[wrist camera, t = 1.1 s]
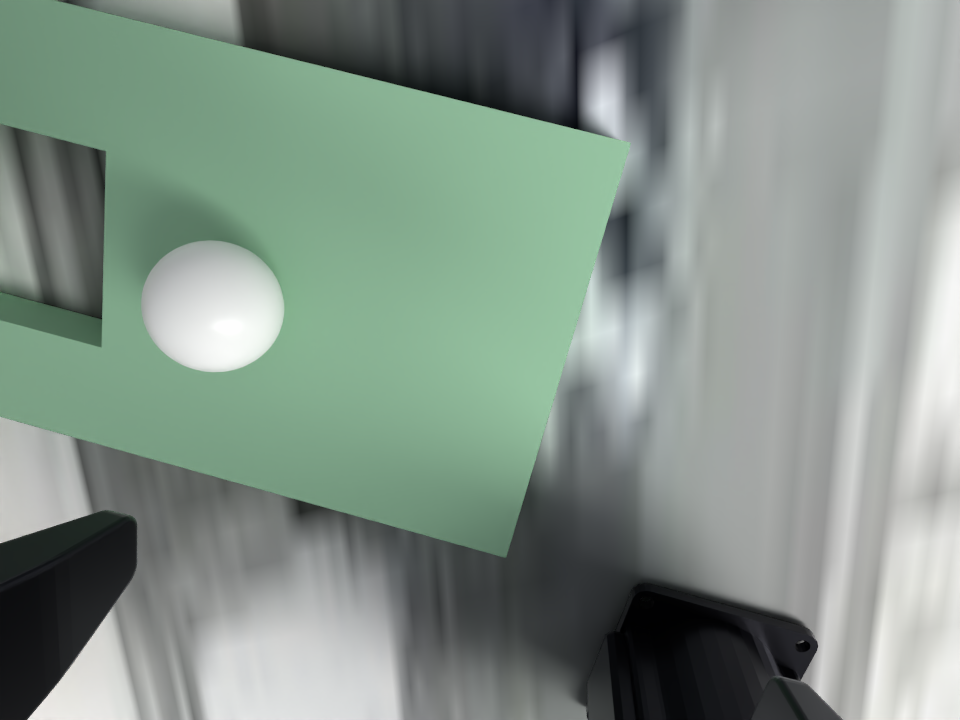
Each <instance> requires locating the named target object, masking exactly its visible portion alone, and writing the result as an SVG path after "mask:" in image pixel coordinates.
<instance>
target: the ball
mask: <svg viewBox="0 0 960 720" xmlns="http://www.w3.org/2000/svg"><path fill="white" fill-rule="evenodd" d="M141 311H142V317H143V321H144V324H145V327H146V329H147V332H148V333H149V335H150V337H151V339H152V340H153V342H154V343H155V344H156V345H157V347H158V348H159V349H160V350H161V351H162V352H163V353H164V354H166V355H167V356H168V357H170V358H171V359H173V360H174V361H176V362H178V363H179V364H181V365H183V366H186V367H188V368H191V369H195V370H199V371H204V372H226V371H231V370H235V369H239V368H242V367H244V366H246V365H248V364H250V363H252V362H254V361H256V360H257V359H258V358H260V357H261V356H262V355H263V354H264V353H265V352H266V351H267V350H268V349H269V348H270V347H271V346H272V344H273V343H274V341H275V340H276V338H277V336H278V334H279V332H280V330H281V327H282V323H283V318H284V299H283V294H282V290H281V287H280V285H279V282H278V280H277V278H276V277H275V275H274V273H273V272H272V271H271V269H270V268H269V267H268V266H267V265H266V264H265V263H264V262H263V261H262V260H261V259H260V258H259V257H258V256H257V255H255V254H254V253H252V252H251V251H249V250H247V249H245V248H243V247H241V246H238V245H235V244H232V243H229V242H223V241H214V240H206V241H197V242H192V243H188V244H186V245H183V246H181V247H178V248H176V249H174V250H173V251H171V252H169V253H168V254H166V255H165V256H164V257H163V258H162V259H160V260H159V262H158V263H157V264H156V265H155V266H154V267H153V269H152V270H151V272H150V273H149V275H148V277H147V279H146V282H145V284H144V287H143V291H142V298H141Z"/></svg>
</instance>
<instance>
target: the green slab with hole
mask: <svg viewBox="0 0 960 720" xmlns="http://www.w3.org/2000/svg"><path fill="white" fill-rule="evenodd" d="M0 124H3V125H6V126H10V127H14V128H18V129H22V130H26V131H30V132H34V133H38V134H41V135H45V136H49V137H53V138H57V139H61V140H65V141H69V142H72V143H76V144H80V145H84V146H88V147H92V148H96V149H100V150H103V151H106V170H105V215H104V260H103V305H102V319H98V318H94V317H91V316H87V315H83V314H80V313H76V312H72V311H68V310H65V309H61V308H57V307H54V306H50V305H46V304H43V303H39V302H35V301H31V300H28V299H24V298H20V297H17V296H13V295H9V294H6V293H2V292H0V417H3V418H7V419H10V420H14V421H17V422H21V423H25V424H28V425H32V426H35V427H39V428H42V429H46V430H50V431H53V432H57V433H60V434H64V435H67V436H71V437H75V438H78V439H82V440H85V441H89V442H93V443H96V444H100V445H103V446H107V447H110V448H114V449H118V450H121V451H125V452H128V453H132V454H135V455H139V456H143V457H146V458H150V459H153V460H157V461H161V462H164V463H168V464H171V465H175V466H178V467H182V468H186V469H189V470H193V471H196V472H200V473H203V474H207V475H211V476H214V477H218V478H221V479H225V480H229V481H232V482H236V483H239V484H243V485H246V486H250V487H254V488H257V489H261V490H264V491H268V492H271V493H275V494H279V495H282V496H286V497H289V498H293V499H297V500H300V501H304V502H307V503H311V504H314V505H318V506H322V507H325V508H329V509H332V510H336V511H339V512H343V513H347V514H350V515H354V516H357V517H361V518H365V519H368V520H372V521H375V522H379V523H382V524H386V525H390V526H393V527H397V528H400V529H404V530H407V531H411V532H415V533H418V534H422V535H425V536H429V537H433V538H436V539H440V540H443V541H447V542H450V543H454V544H458V545H461V546H465V547H468V548H472V549H475V550H479V551H483V552H486V553H490V554H493V555H497V556H501V557H504V558H506V556H507V553H508V550H509V546H510V543H511V540H512V536H513V533H514V530H515V526H516V523H517V520H518V517H519V513H520V510H521V507H522V503H523V500H524V497H525V493H526V490H527V487H528V483H529V480H530V477H531V473H532V470H533V467H534V463H535V460H536V457H537V453H538V450H539V447H540V443H541V440H542V437H543V434H544V430H545V427H546V424H547V420H548V417H549V414H550V410H551V407H552V404H553V400H554V397H555V394H556V390H557V387H558V384H559V380H560V377H561V374H562V370H563V367H564V364H565V361H566V357H567V354H568V351H569V347H570V344H571V341H572V337H573V334H574V331H575V327H576V324H577V321H578V317H579V314H580V311H581V307H582V304H583V301H584V297H585V294H586V291H587V287H588V284H589V281H590V278H591V274H592V271H593V268H594V264H595V261H596V258H597V254H598V251H599V248H600V244H601V241H602V238H603V234H604V231H605V228H606V224H607V221H608V218H609V214H610V211H611V208H612V204H613V201H614V198H615V195H616V191H617V188H618V185H619V181H620V178H621V175H622V171H623V168H624V165H625V161H626V158H627V155H628V151H629V148H630V145H631V143H629V142H625V141H621V140H617V139H613V138H609V137H605V136H601V135H597V134H593V133H589V132H585V131H581V130H577V129H573V128H569V127H565V126H561V125H557V124H553V123H549V122H544V121H540V120H536V119H532V118H528V117H524V116H520V115H516V114H512V113H508V112H504V111H500V110H496V109H492V108H488V107H484V106H480V105H476V104H472V103H468V102H464V101H460V100H456V99H452V98H448V97H444V96H440V95H435V94H431V93H427V92H423V91H419V90H415V89H411V88H407V87H403V86H399V85H395V84H391V83H387V82H383V81H379V80H375V79H371V78H367V77H363V76H359V75H355V74H351V73H347V72H343V71H339V70H335V69H331V68H326V67H322V66H318V65H314V64H310V63H306V62H302V61H298V60H294V59H290V58H286V57H282V56H278V55H274V54H270V53H266V52H262V51H258V50H254V49H250V48H246V47H242V46H238V45H234V44H230V43H226V42H222V41H218V40H213V39H209V38H205V37H201V36H197V35H193V34H189V33H185V32H181V31H177V30H173V29H169V28H165V27H161V26H157V25H153V24H149V23H145V22H141V21H137V20H133V19H129V18H125V17H121V16H117V15H113V14H109V13H104V12H100V11H96V10H92V9H88V8H84V7H80V6H76V5H72V4H68V3H64V2H60V1H56V0H0ZM206 240H214V241H223V242H229V243H232V244H235V245H238V246H241V247H243V248H245V249H247V250H249V251H251V252H252V253H254V254H255V255H257V256H258V257H259V258H260V259H261V260H262V261H263V262H264V263H265V264H266V265H267V266H268V267H269V268H270V269H271V271H272V272H273V273H274V275H275V277H276V278H277V280H278V282H279V285H280V287H281V290H282V294H283V299H284V318H283V323H282V327H281V330H280V332H279V334H278V336H277V338H276V340H275V341H274V343H273V344H272V346H271V347H270V348H269V349H268V350H267V351H266V352H265V353H264V354H263V355H262V356H261V357H260V358H258V359H257V360H256V361H254V362H252V363H250V364H248V365H246V366H244V367H242V368H239V369H235V370H231V371H226V372H204V371H199V370H195V369H191V368H188V367H186V366H183V365H181V364H179V363H178V362H176V361H174V360H173V359H171V358H170V357H168V356H167V355H166V354H164V353H163V352H162V351H161V350H160V349H159V348H158V347H157V345H156V344H155V343H154V342H153V340H152V339H151V337H150V335H149V333H148V332H147V329H146V327H145V324H144V321H143V317H142V311H141V298H142V291H143V287H144V284H145V282H146V279H147V277H148V275H149V273H150V272H151V270H152V269H153V267H154V266H155V265H156V264H157V263H158V262H159V260H160V259H162V258H163V257H164V256H165V255H166V254H168V253H169V252H171V251H173V250H174V249H176V248H178V247H181V246H183V245H186V244H188V243H192V242H197V241H206Z"/></svg>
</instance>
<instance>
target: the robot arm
mask: <svg viewBox="0 0 960 720" xmlns="http://www.w3.org/2000/svg"><path fill="white" fill-rule="evenodd" d="M136 567H137V522H136V520H135V518H133V517H132V516H130V515H126V514H122V513H118V512H114V511H109V510H105V511H100V512H97V513H94V514H91V515H88V516H85V517H82V518H79V519H75V520H72V521H69V522H66V523H63V524H60V525H57V526H53V527H50V528H47V529H44V530H41V531H38V532H35V533H32V534H28V535H25V536H22V537H19V538H16V539H13V540H10V541H7V542H3V543H0V720H27V719H28V718H29V717H30V716H31V715H32V713H33V712H34V711H35V710H36V709H37V707H38V706H39V705H40V704H41V703H42V702H43V700H44V699H45V698H46V697H47V696H48V694H49V693H50V692H51V691H52V690H53V688H54V687H55V686H56V685H57V683H58V682H59V681H60V680H61V678H62V677H63V676H64V674H65V673H66V672H67V670H68V669H69V668H70V666H71V665H72V664H73V662H74V661H75V660H76V658H77V657H78V655H79V654H80V652H81V651H82V650H83V648H84V647H85V645H86V644H87V643H88V641H89V640H90V638H91V637H92V635H93V634H94V633H95V631H96V630H97V628H98V627H99V626H100V624H101V623H102V621H103V620H104V618H105V617H106V616H107V614H108V613H109V611H110V610H111V608H112V607H113V606H114V604H115V603H116V601H117V600H118V599H119V597H120V596H121V594H122V593H123V591H124V590H125V589H126V587H127V586H128V584H129V583H130V581H131V580H132V578H133V576H134V573H135V571H136ZM643 597H650V598H651V599H650V600H648V601H642V600H640V599H641V598H643ZM801 640H803V641H804V642H803V643H800V644H796V643H797V642H798V641H801ZM817 648H818V644H817V641H816V639H815V637H814V635H813V633H812V632H811V631H810V630H809V629H808V628H805V627H803V626H799V625H796V624H792V623H788V622H785V621H781V620H778V619H774V618H770V617H767V616H763V615H760V614H756V613H753V612H749V611H745V610H742V609H738V608H735V607H731V606H727V605H724V604H720V603H717V602H713V601H709V600H706V599H702V598H699V597H695V596H691V595H688V594H684V593H681V592H677V591H674V590H670V589H666V588H663V587H659V586H656V585H652V584H646V583H643V584H638V585H637V586H635V587H634V588H633V589H632V591H631V593H630V596H629V598H628V601H627V603H626V606H625V608H624V611H623V613H622V616H621V618H620V621H619V624H618V626H617V629H616V631H614V630H612V631H611V632H609V633H608V634H606V636H605V638H604V641H603V644H602V646H601V649H600V651H599V654H598V656H597V659H596V662H595V664H594V667H593V669H592V672H591V674H590V677H589V679H588V682H587V692H588V702H587V706H586V711H587V718H588V720H843V719H842V718H841V717H840V716H839V715H838V714H837V713H836V712H835V711H834V710H833V709H832V708H831V707H830V706H829V705H828V704H827V703H826V702H825V701H824V700H823V699H822V698H821V697H820V696H819V695H818V694H817V693H816V692H815V691H814V690H813V689H812V688H811V687H810V686H808V685H807V684H806V683H804V682H801V679H802V677H803V675H804V673H805V671H806V669H807V668H808V666H809V664H810V662H811V660H812V658H813V657H814V655H815V653H816V651H817Z"/></svg>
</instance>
